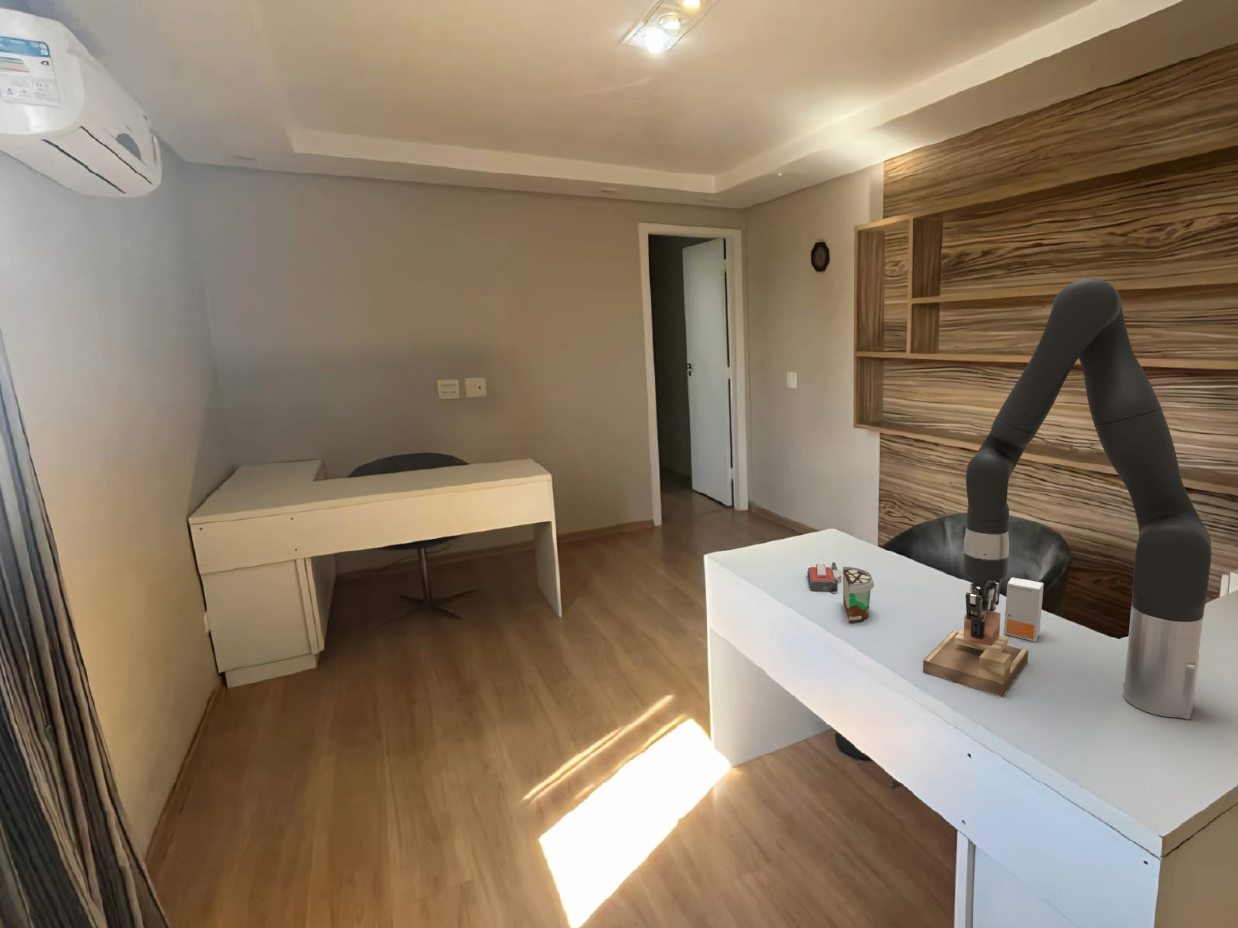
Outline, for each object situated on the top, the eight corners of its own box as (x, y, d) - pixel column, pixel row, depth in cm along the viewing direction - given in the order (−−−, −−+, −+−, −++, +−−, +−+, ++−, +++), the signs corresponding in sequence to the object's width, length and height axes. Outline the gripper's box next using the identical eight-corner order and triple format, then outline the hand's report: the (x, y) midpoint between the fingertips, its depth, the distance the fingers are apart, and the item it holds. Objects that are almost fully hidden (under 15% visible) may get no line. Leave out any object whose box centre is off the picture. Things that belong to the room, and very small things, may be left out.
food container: (878, 626, 146) (878, 585, 144) (849, 625, 148) (849, 584, 146) (868, 604, 158) (869, 565, 156) (842, 603, 159) (842, 565, 157)
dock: (1027, 662, 127) (1028, 650, 127) (1002, 696, 116) (1003, 683, 116) (952, 641, 137) (952, 630, 137) (922, 671, 126) (923, 659, 126)
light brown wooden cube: (1010, 674, 119) (1010, 654, 118) (1003, 683, 116) (1003, 662, 115) (986, 668, 122) (986, 648, 121) (979, 676, 119) (979, 656, 118)
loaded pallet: (1008, 643, 127) (1009, 614, 126) (998, 654, 123) (1000, 624, 122) (964, 632, 133) (965, 604, 132) (954, 642, 129) (955, 613, 128)
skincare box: (1003, 634, 139) (1006, 582, 136) (1008, 627, 142) (1011, 576, 140) (1036, 642, 135) (1039, 588, 132) (1040, 635, 138) (1044, 582, 135)
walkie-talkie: (845, 595, 165) (837, 567, 184) (845, 579, 164) (837, 553, 183) (809, 594, 167) (805, 567, 186) (809, 578, 166) (805, 552, 185)
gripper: (995, 566, 117) (991, 652, 120) (1018, 545, 127) (1013, 625, 130) (951, 557, 122) (948, 640, 125) (977, 538, 132) (973, 615, 135)
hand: (981, 632), depth 128 cm, fingers closed on loaded pallet, 5 cm apart
